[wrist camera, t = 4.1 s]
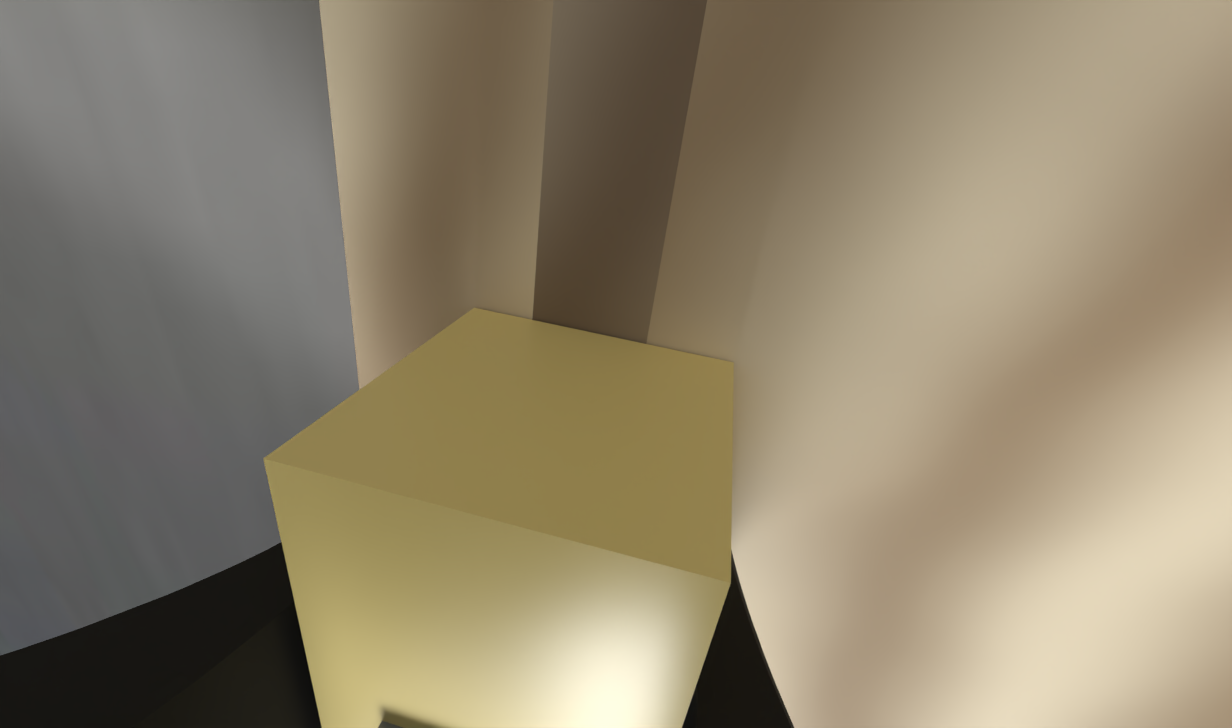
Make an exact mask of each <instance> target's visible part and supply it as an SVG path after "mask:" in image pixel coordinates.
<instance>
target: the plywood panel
mask: <svg viewBox="0 0 1232 728" xmlns="http://www.w3.org/2000/svg"><path fill="white" fill-rule="evenodd" d="M319 5H320V15H321V24H322V34H323V43H324V53H325V63H326V72H327V82H328V91H329V101H330V111H331V120H332V130H333V139H334V149H335V159H336V168H337V178H338V188H339V197H340V207H341V216H342V226H343V236H344V245H345V255H346V264H347V274H348V284H349V293H350V303H351V313H352V322H353V332H354V341H355V351H356V361H357V370H358V380H359V389H361V388H363V387H364V386H366V385H367V384H368V383H370V382H371V381H372V380H374V379H375V378H377V377H378V376H379V375H381V374H382V373H384V372H385V371H386V370H388V369H389V368H391V367H392V366H393V365H395V364H396V363H398V362H399V361H400V360H402V359H403V358H405V357H406V356H407V355H409V354H410V353H412V352H413V351H414V350H416V349H417V348H419V347H420V346H421V345H423V344H424V343H426V342H427V341H428V340H430V339H431V338H433V337H434V336H435V335H437V334H438V333H439V332H441V331H442V330H444V329H445V328H446V327H448V326H449V325H451V324H452V323H453V322H455V321H456V320H458V319H459V318H460V317H462V316H463V315H465V314H466V313H467V312H469V311H470V310H472V309H473V308H479V309H483V310H488V311H493V312H498V313H502V314H507V315H512V316H516V317H521V318H526V319H531V320H535V321H540V322H545V323H550V324H554V325H559V326H564V327H568V328H573V329H578V330H583V331H587V332H592V333H597V334H602V335H606V336H611V337H616V338H620V339H625V340H630V341H635V342H639V343H644V344H649V345H653V346H658V347H663V348H668V349H672V350H677V351H682V352H687V353H691V354H696V355H701V356H705V357H710V358H715V359H720V360H724V361H729V362H734V382H733V457H732V533H731V550H732V554H733V558H734V562H735V566H736V570H737V574H738V577H739V581H740V584H741V588H742V591H743V594H744V597H745V601H746V604H747V607H748V610H749V613H750V616H751V619H752V622H753V625H754V627H755V630H756V633H757V636H758V639H759V641H760V644H761V647H762V650H763V652H764V655H765V658H766V660H767V663H768V666H769V668H770V671H771V673H772V676H773V678H774V681H775V683H776V686H777V688H778V690H779V693H780V695H781V697H782V700H783V702H784V705H785V707H786V709H787V712H788V714H789V716H790V719H791V721H792V723H793V725H794V728H1232V0H319Z"/></svg>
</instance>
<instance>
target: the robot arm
mask: <svg viewBox="0 0 1232 728" xmlns="http://www.w3.org/2000/svg"><path fill="white" fill-rule="evenodd" d="M0 728H322V727H321V722H320V718H319V713H318V708H317V704H316V699H315V694H314V690H313V685H312V681H311V676H310V671H309V667H308V662H307V657H306V653H305V648H304V644H303V639H302V634H301V630H300V625H299V620H298V616H297V611H296V607H295V602H294V597H293V593H292V588H291V584H290V579H289V574H288V570H287V565H286V560H285V556H284V551H283V547H282V542H281V543H279V544H277V545H275V546H273V547H271V548H270V549H268V550H266V551H264V552H262V553H260V554H258V555H256V556H254V557H252V558H249V559H247V560H245V561H243V562H241V563H239V564H237V565H235V566H232V567H230V568H228V569H226V570H224V571H222V572H219V573H217V574H215V575H212V576H210V577H208V578H206V579H203V580H201V581H199V582H196V583H194V584H192V585H190V586H187V587H185V588H183V589H180V590H178V591H176V592H173V593H171V594H168V595H166V596H163V597H161V598H158V599H156V600H153V601H150V602H148V603H145V604H143V605H140V606H137V607H135V608H132V609H130V610H127V611H124V612H122V613H119V614H117V615H114V616H112V617H109V618H106V619H104V620H101V621H99V622H96V623H93V624H91V625H88V626H86V627H83V628H80V629H77V630H75V631H72V632H69V633H66V634H63V635H60V636H57V637H55V638H52V639H49V640H46V641H43V642H40V643H37V644H34V645H31V646H28V647H26V648H23V649H20V650H17V651H13V652H10V653H7V654H4V655H1V656H0ZM682 728H794V725H793V723H792V721H791V719H790V716H789V714H788V712H787V709H786V707H785V705H784V702H783V700H782V697H781V695H780V693H779V690H778V688H777V686H776V683H775V681H774V678H773V676H772V673H771V671H770V668H769V666H768V663H767V660H766V658H765V655H764V652H763V650H762V647H761V644H760V641H759V639H758V636H757V633H756V630H755V627H754V625H753V622H752V619H751V616H750V613H749V610H748V607H747V604H746V601H745V597H744V594H743V591H742V588H741V584H740V581H739V577H738V574H737V570H736V566H735V562H734V558H733V554H732V550H731V584H730V587H729V590H728V593H727V596H726V599H725V602H724V605H723V608H722V611H721V614H720V617H719V619H718V622H717V625H716V628H715V631H714V634H713V637H712V640H711V643H710V646H709V649H708V652H707V655H706V658H705V661H704V664H703V667H702V670H701V673H700V676H699V679H698V682H697V685H696V688H695V690H694V693H693V696H692V699H691V702H690V705H689V708H688V711H687V714H686V717H685V720H684V723H683V726H682Z"/></svg>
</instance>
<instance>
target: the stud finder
mask: <svg viewBox="0 0 1232 728" xmlns="http://www.w3.org/2000/svg"><path fill="white" fill-rule="evenodd" d="M733 382H734V362H729V361H724V360H720V359H715V358H710V357H705V356H701V355H696V354H691V353H687V352H682V351H677V350H672V349H668V348H663V347H658V346H653V345H649V344H644V343H639V342H635V341H630V340H625V339H620V338H616V337H611V336H606V335H602V334H597V333H592V332H587V331H583V330H578V329H573V328H568V327H564V326H559V325H554V324H550V323H545V322H540V321H535V320H531V319H526V318H521V317H516V316H512V315H507V314H502V313H498V312H493V311H488V310H483V309H479V308H473V309H472V310H470V311H469V312H467V313H466V314H465V315H463V316H462V317H460V318H459V319H458V320H456V321H455V322H453V323H452V324H451V325H449V326H448V327H446V328H445V329H444V330H442V331H441V332H439V333H438V334H437V335H435V336H434V337H433V338H431V339H430V340H428V341H427V342H426V343H424V344H423V345H421V346H420V347H419V348H417V349H416V350H414V351H413V352H412V353H410V354H409V355H407V356H406V357H405V358H403V359H402V360H400V361H399V362H398V363H396V364H395V365H393V366H392V367H391V368H389V369H388V370H386V371H385V372H384V373H382V374H381V375H379V376H378V377H377V378H375V379H374V380H372V381H371V382H370V383H368V384H367V385H366V386H364V387H363V388H361V389H360V390H359V391H357V392H356V393H354V394H353V395H352V396H350V397H349V398H347V399H346V400H345V401H343V402H342V403H340V404H339V405H338V406H336V407H335V408H333V409H332V410H331V411H329V412H328V413H326V414H325V415H324V416H322V417H321V418H319V419H318V420H317V421H315V422H314V423H312V424H311V425H310V426H308V427H307V428H305V429H304V430H303V431H301V432H300V433H298V434H297V435H296V436H294V437H293V438H292V439H290V440H289V441H287V442H286V443H285V444H283V445H282V446H280V447H279V448H278V449H276V450H275V451H273V452H272V453H271V454H269V455H268V456H266V457H265V458H264V463H265V468H266V473H267V477H268V482H269V487H270V491H271V496H272V500H273V505H274V510H275V514H276V519H277V523H278V528H279V533H280V537H281V542H282V547H283V551H284V556H285V560H286V565H287V570H288V574H289V579H290V584H291V588H292V593H293V597H294V602H295V607H296V611H297V616H298V620H299V625H300V630H301V634H302V639H303V644H304V648H305V653H306V657H307V662H308V667H309V671H310V676H311V681H312V685H313V690H314V694H315V699H316V704H317V708H318V713H319V718H320V722H321V727H322V728H682V726H683V723H684V720H685V717H686V714H687V711H688V708H689V705H690V702H691V699H692V696H693V693H694V690H695V688H696V685H697V682H698V679H699V676H700V673H701V670H702V667H703V664H704V661H705V658H706V655H707V652H708V649H709V646H710V643H711V640H712V637H713V634H714V631H715V628H716V625H717V622H718V619H719V617H720V614H721V611H722V608H723V605H724V602H725V599H726V596H727V593H728V590H729V587H730V584H731V533H732V457H733Z"/></svg>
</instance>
